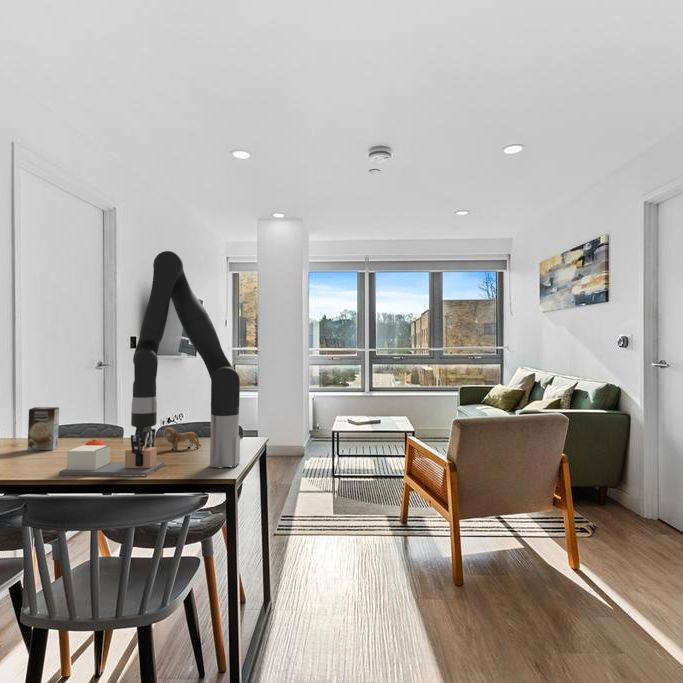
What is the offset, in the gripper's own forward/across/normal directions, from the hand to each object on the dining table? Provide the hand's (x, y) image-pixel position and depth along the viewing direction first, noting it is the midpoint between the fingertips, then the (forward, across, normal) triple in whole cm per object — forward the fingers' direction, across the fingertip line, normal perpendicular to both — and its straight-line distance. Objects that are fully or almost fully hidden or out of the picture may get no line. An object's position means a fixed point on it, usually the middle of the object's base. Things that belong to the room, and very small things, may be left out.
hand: (143, 463), depth 153 cm
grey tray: (+2, 0, +9) cm, 10 cm away
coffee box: (+3, +31, +52) cm, 61 cm away
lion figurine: (+2, +34, -1) cm, 34 cm away
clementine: (+2, +16, +24) cm, 29 cm away
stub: (+1, 0, +1) cm, 1 cm away
